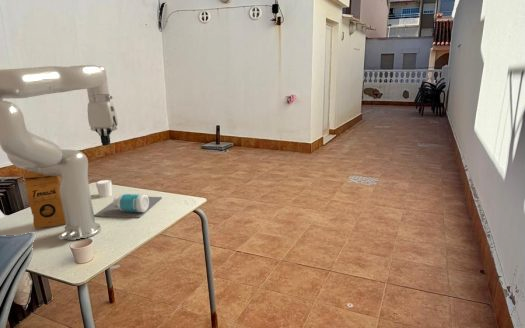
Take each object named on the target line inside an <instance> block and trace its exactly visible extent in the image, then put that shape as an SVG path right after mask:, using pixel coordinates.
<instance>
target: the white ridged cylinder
mask: <svg viewBox="0 0 525 328" xmlns="http://www.w3.org/2000/svg"><path fill="white" fill-rule="evenodd" d="M112 184H113V183H112V180H111V179H102V180H98V181H96V182H95V185H96V189H97V192H98V197H99V198H109V197H111V196H113V190H112V189H113V188H112V187H113V185H112Z"/></svg>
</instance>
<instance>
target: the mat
mask: <svg viewBox="0 0 525 328" xmlns="http://www.w3.org/2000/svg"><path fill="white" fill-rule="evenodd" d="M148 198H149V207H148V209H147V210H146V211H145V212H128V211H121V210H119V208H117V207H114V205H113V201H112V202H111V203H109V204H108V205H107V206H105V207H104V208H102V209H101V210H99V211H98V212H96V213H94V218H96V217H97V218H98V217H99V218H100V217H101V218H126V219H127V218H128V219H129V218H130V219H140V218H142V217H143V215H145V214H146V213H147V212H148V211H149V210H150V209H152V208H153V207H154V206H155V205H156V204H157V203H159V202H160V201H161V200H162V198H163V197H162V196H148Z"/></svg>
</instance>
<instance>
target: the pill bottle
mask: <svg viewBox="0 0 525 328" xmlns="http://www.w3.org/2000/svg"><path fill="white" fill-rule="evenodd" d="M148 197H149V196H148V195H147V194H140V193H122V194H120V195H119V196H117V195H116V196H115V197H114V198H113V201H112V202H113V205H114V207H117V208H119V210H121V211H128V212H145V211H146V210H147V209H148V207H149V198H148Z"/></svg>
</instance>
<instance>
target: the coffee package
mask: <svg viewBox="0 0 525 328" xmlns="http://www.w3.org/2000/svg"><path fill="white" fill-rule="evenodd" d="M23 178H24V183H25V188H26V192H27V193H26V194H27V195H26V196H27V199H28V203H29V207H30V211H31V215H32V216H33V222H32V223H33V227H34V229H36V230H37V229H42V228H43V229H44V228H49V227H57V226H62V225H66V223H65V218H64V213H63V208H62V203H61V198H60V193H59V186H60V183H61V182H60V180H59V176H48V175H42V174H38V173H35V172H32V171H31V172H27V173H26V172H25V173H23Z"/></svg>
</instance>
